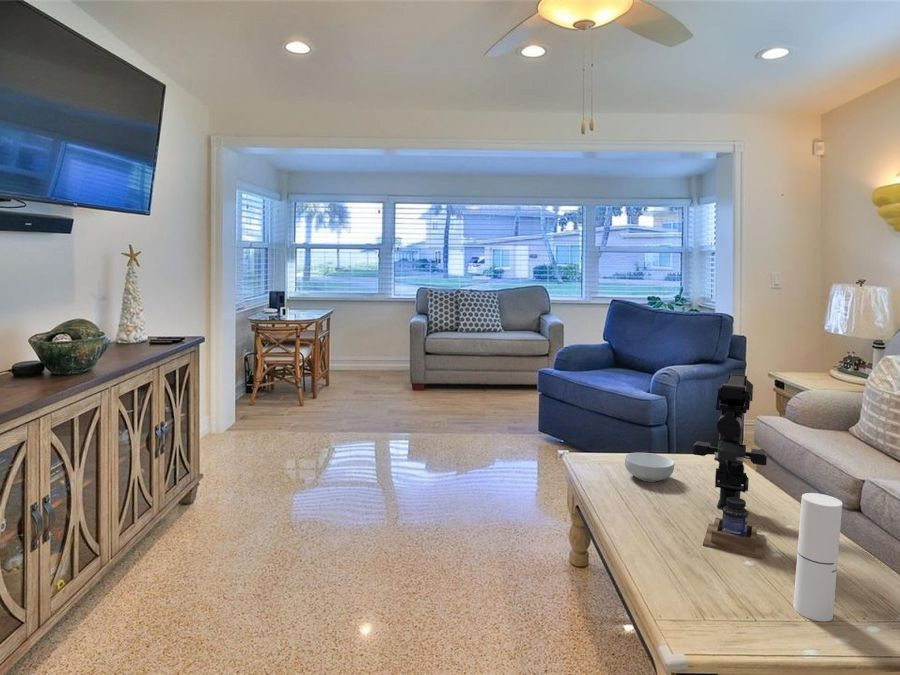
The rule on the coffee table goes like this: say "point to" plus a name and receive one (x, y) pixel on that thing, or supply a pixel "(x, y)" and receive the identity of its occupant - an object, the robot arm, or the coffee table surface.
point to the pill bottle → (735, 517)
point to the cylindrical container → (817, 556)
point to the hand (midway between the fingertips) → (727, 481)
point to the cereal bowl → (649, 466)
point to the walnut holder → (735, 540)
